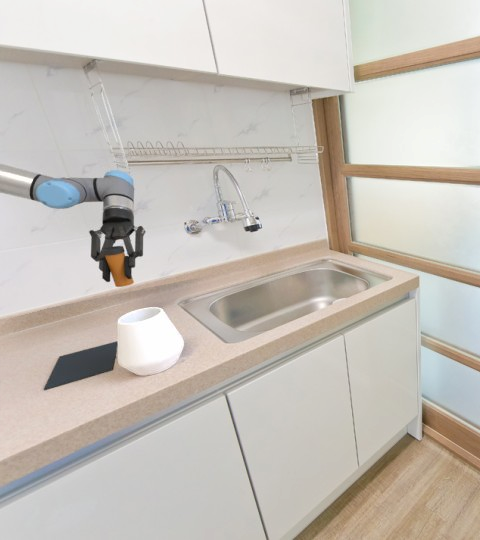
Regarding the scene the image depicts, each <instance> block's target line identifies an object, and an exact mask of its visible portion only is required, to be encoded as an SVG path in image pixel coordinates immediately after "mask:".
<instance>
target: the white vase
mask: <svg viewBox="0 0 480 540" xmlns="http://www.w3.org/2000/svg"><path fill="white" fill-rule="evenodd" d="M116 324H117V325H116V326H117V327H116V328H117V329H116V330H117V332H116V333H117V341H118V345H117V363H118V364H119V366H120V367H122V368H124V369H125V370H127V371H129V372H131V373H133V374H135V375H137V376H139V377H140V376H141V377H143V376H144V377H146V376H151V375H153V376H154V375H156V374H159V373H162V372H164V371H166V370H168V369H170V368H172V367H174V365H175V364H177V362H178V361H179V359H180V357H181V354H182V352H183V349H184V347H185V341H184V338H183V335H182V334H180V332H179V330H178V329H177V328H176V326H175V325H174V323H173V322H172V321H171V319H170V318H169V316H168V315H167V313H166V312H165V310H164V309H163V308H161V307H157V306H150V307H144V308H140V309H135V310H132V311H129V312H127V313H125V314H124V315H121V316H120V317H119V318H118V319H117V323H116Z"/></svg>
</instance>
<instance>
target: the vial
mask: <svg viewBox="0 0 480 540" xmlns="http://www.w3.org/2000/svg"><path fill="white" fill-rule="evenodd" d="M101 249H102V248H101ZM102 251H103V254H104V255H105V257H106V260H107V263H108V266H109V269H110V275H111V277H112V281H113V283H114V285H115V287H116V288H123V287H128V286H131V285H133V284H134V283H135V282H134V278H133V277H132V278H131V279H128V278H127V277H126V276H125V275H124V263H125V256H126V253H125V248H124V246H123V245H117V246H116V245H113V247H108V248H104V249H102Z"/></svg>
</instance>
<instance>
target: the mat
mask: <svg viewBox="0 0 480 540" xmlns="http://www.w3.org/2000/svg"><path fill="white" fill-rule="evenodd" d="M117 351H118V340H117V341H113V342H108V343H104V344H102V345H98V346H97V345H96V346H93V347H90V348H86V349H82V350H79V351H75V352H71V353H67V354H64V355H60V356H58V358H57V361H56V363H55V365H54V366H53V369H52V371H51V373H50V375H49V378H48V379H47V381H46V383H45V385H44V388H43V390H44V391H47V390H50V389H54V388H57V387H60V386H64V385H67V384H71V383H73V382H77V381H82V380H84V379H87V378H90V377H93V376H97V375H101V374H105V373H108V372H111V371H113V370H114V365H115V360H116V356H117Z"/></svg>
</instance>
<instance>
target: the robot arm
mask: <svg viewBox="0 0 480 540" xmlns="http://www.w3.org/2000/svg"><path fill="white" fill-rule="evenodd" d="M65 177H66V176H63V177H62V176H61V177H52V176H49V175H44V174H41V173H37V172H33V171H29V170H27V169H23V168H19V167H15V166H11V165H8V164H3V163H0V194H4V195H9V196H13V197H17V198H22V199H27V200H31V201H35V202H38V203H41V204H42V205H44V206H46V207H48V208H51V209H56V210H60V209H62V210H65V209H70V208H72V207H75V206H77V205H80V204H84V203H99V202H100V203H102V219H101V222H102V223H101V224H102V225H101V226H100V228H99V229H97V230H94V229H90V230H89V231H88V233H89V235H90V237H91V240H90V242H91V243H90V258H91V259H92V260H94V261H95V262H97V263H98V269H99V270H100V271H101V272H102V275H101V276H102V279H103V280H104V281H105V282H106V283H110V282H111V272H110V269H109V266H108V263H107V260H106V257H105V255H104V254H103V251H102V249H104V248H108V247H114V244H116V241H119V240H122V241H123V244H124V247H125V249H126V255H125V263H124V275H125V276H126V277H127V278H128V279H131V278H133V276H132V272H133V271H132V269H135V267H136V259H137V258H139V257H140V258H142V257H143V256H144V236H145V234H146V230H145V228H144V226H142V225H139V226H135V216H134V214H135V202H134V201H135V186H134V185H135V184H134V179H133V177H132V176H131V175H130V174H129V173H128V172H125V171H122V170H116V169H114V170H113V169H112V170H110V171H107V172H105V173H104V176H103V177H69V178H65ZM133 233H134V234H135V235H134V237H135V238H134V246H133V244H132V240H131V237H130V236H131V235H132V234H133ZM102 235H104V241H103V243H102V244H101V242H102V241H101V239H102ZM101 245H102V246H101ZM133 247H134V248H133Z"/></svg>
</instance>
